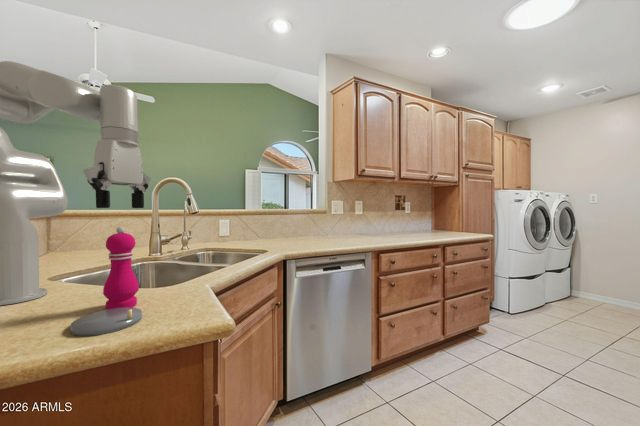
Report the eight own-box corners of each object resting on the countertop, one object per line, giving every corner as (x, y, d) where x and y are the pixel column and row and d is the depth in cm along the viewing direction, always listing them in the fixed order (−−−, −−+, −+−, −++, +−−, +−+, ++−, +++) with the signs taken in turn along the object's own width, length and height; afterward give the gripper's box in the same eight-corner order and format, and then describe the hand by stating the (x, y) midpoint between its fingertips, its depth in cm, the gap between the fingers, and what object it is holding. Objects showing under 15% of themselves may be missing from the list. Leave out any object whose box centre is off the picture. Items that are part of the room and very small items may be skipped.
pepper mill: (120, 313, 64) (119, 227, 64) (95, 310, 66) (94, 227, 66) (145, 302, 71) (145, 226, 71) (122, 300, 73) (121, 225, 73)
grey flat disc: (53, 333, 54) (53, 317, 54) (110, 311, 66) (110, 297, 66) (105, 338, 52) (105, 321, 52) (154, 314, 64) (154, 300, 64)
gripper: (136, 147, 77) (137, 208, 77) (70, 130, 60) (72, 208, 60) (159, 145, 76) (161, 207, 76) (99, 127, 59) (101, 207, 59)
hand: (121, 207), depth 68 cm, fingers open, 9 cm apart
